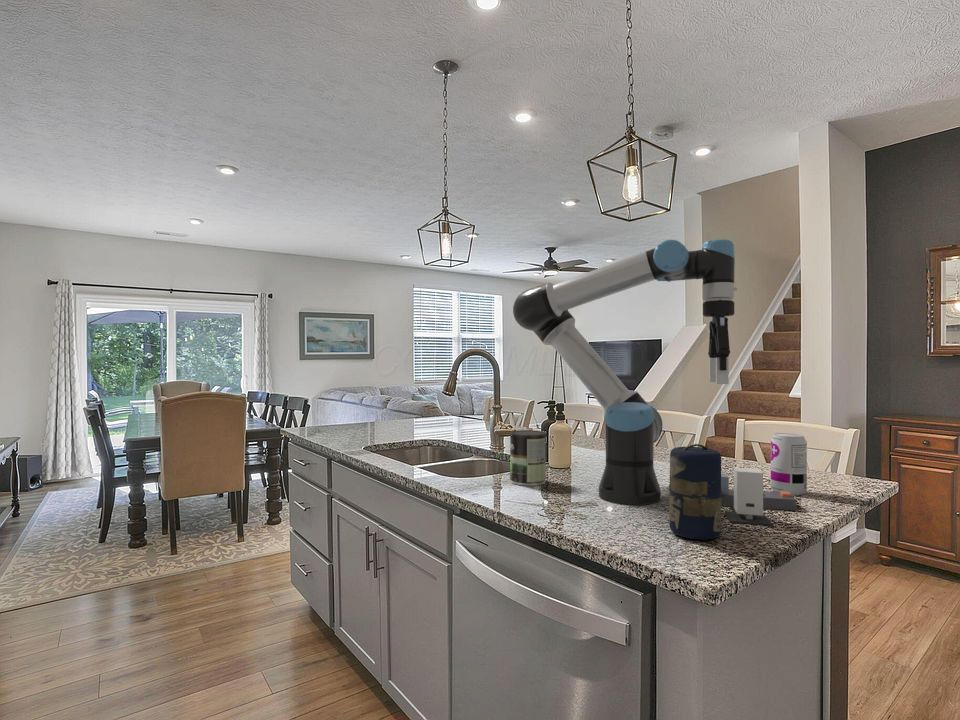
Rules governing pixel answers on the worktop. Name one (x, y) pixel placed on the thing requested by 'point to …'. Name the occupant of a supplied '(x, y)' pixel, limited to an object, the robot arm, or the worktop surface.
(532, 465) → the coffee can
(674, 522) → the canister
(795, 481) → the supplement can
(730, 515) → the mat
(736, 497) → the block
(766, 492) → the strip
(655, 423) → the robot arm
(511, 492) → the worktop surface
